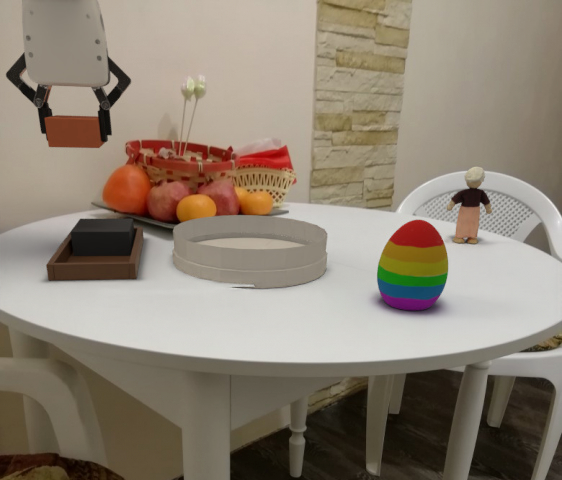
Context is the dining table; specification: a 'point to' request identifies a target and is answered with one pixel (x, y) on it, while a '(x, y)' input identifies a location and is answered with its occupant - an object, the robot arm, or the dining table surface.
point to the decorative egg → (413, 267)
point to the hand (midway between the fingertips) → (78, 139)
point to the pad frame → (94, 263)
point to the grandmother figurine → (470, 206)
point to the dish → (251, 250)
